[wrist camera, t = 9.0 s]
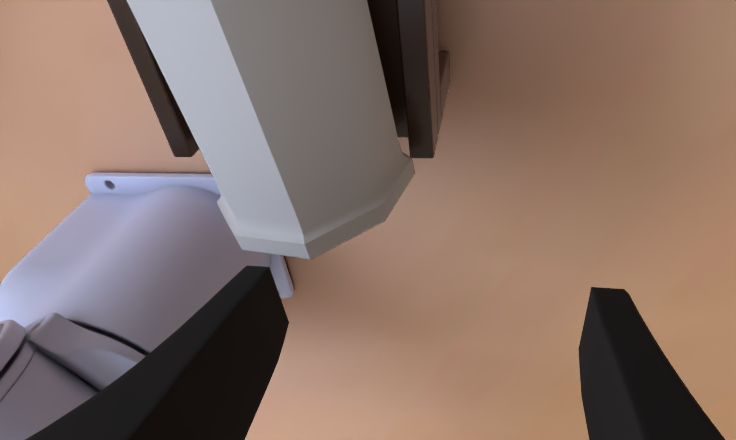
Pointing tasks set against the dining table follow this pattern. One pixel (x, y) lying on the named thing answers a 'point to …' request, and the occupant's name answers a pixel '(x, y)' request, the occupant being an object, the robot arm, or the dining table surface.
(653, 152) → the dining table surface
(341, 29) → the grey octagonal prism
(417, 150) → the dark brown tray
